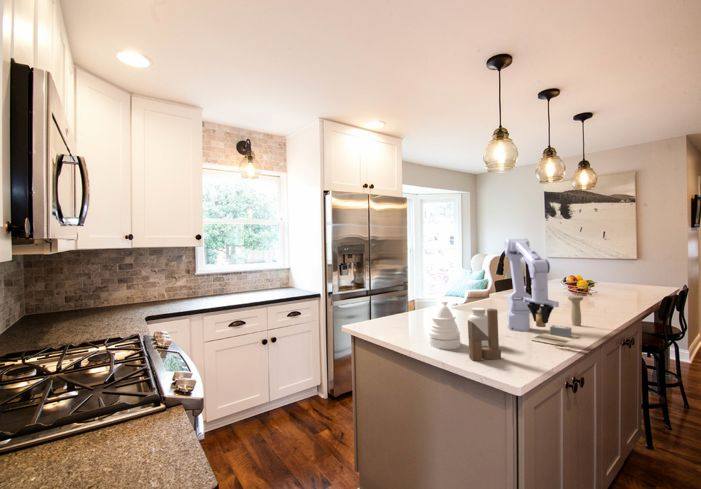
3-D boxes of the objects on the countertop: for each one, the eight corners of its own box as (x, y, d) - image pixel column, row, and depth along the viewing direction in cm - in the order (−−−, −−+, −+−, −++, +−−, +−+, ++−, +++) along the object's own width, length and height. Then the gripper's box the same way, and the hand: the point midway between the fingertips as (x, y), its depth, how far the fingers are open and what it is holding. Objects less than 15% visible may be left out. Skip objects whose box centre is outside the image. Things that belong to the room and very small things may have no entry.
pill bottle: (488, 342, 143) (487, 307, 143) (490, 347, 135) (488, 310, 135) (469, 341, 145) (468, 306, 145) (469, 346, 138) (468, 310, 138)
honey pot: (434, 338, 150) (432, 299, 150) (463, 342, 144) (462, 300, 144) (425, 346, 139) (423, 303, 139) (456, 350, 133) (454, 305, 133)
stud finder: (568, 337, 141) (568, 329, 141) (550, 334, 146) (550, 326, 146) (571, 335, 144) (571, 327, 144) (553, 333, 149) (553, 324, 149)
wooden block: (468, 357, 124) (467, 309, 124) (496, 356, 125) (494, 308, 125) (473, 361, 120) (471, 311, 120) (501, 359, 121) (499, 310, 121)
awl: (537, 327, 135) (536, 311, 135) (535, 325, 139) (534, 309, 139) (546, 327, 134) (546, 311, 134) (544, 325, 138) (543, 309, 138)
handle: (586, 328, 159) (585, 297, 159) (575, 329, 158) (574, 297, 158) (577, 326, 164) (576, 295, 164) (566, 327, 163) (565, 296, 163)
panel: (563, 347, 133) (563, 344, 133) (531, 341, 142) (531, 338, 142) (581, 337, 145) (581, 334, 145) (551, 332, 154) (551, 329, 154)
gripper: (563, 290, 131) (564, 324, 131) (530, 286, 145) (531, 317, 145) (551, 291, 129) (552, 326, 129) (519, 287, 142) (520, 319, 142)
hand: (540, 322), depth 137 cm, fingers closed on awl, 3 cm apart
